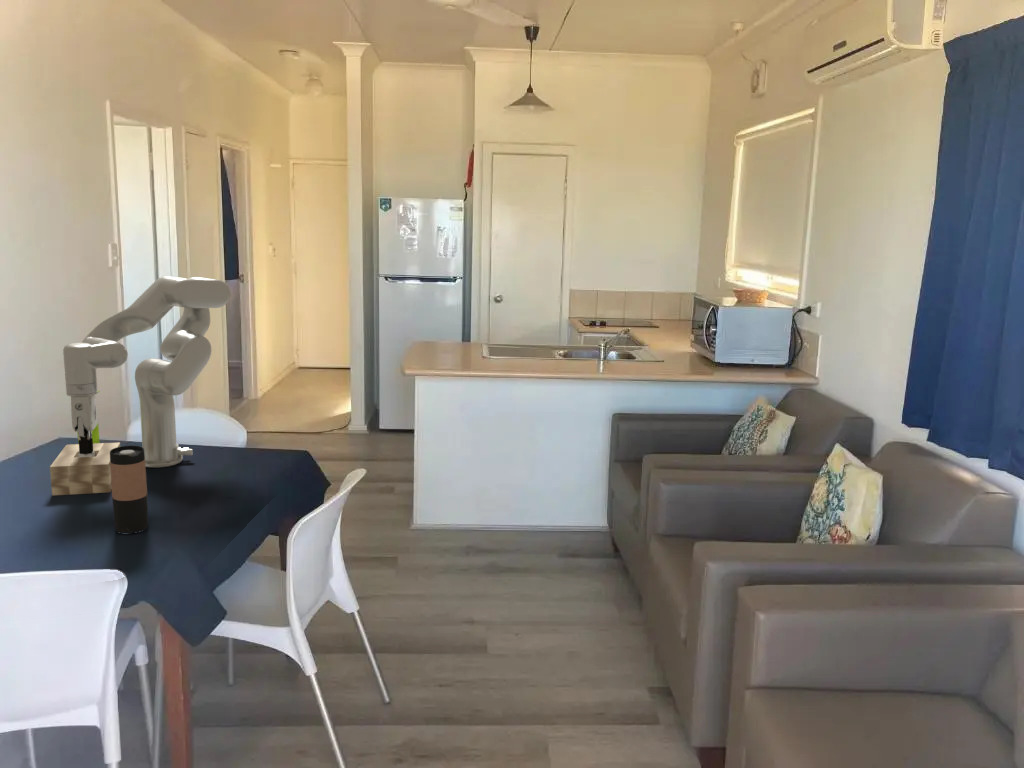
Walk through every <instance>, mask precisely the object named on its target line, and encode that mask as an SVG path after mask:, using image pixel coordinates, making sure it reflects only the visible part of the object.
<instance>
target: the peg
mask: <svg viewBox="0 0 1024 768" xmlns="http://www.w3.org/2000/svg"><path fill="white" fill-rule="evenodd" d="M78 456H79V457H95V452H94V451H93V452H92V453H89V454H80V453H78Z"/></svg>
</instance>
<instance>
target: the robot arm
mask: <svg viewBox="0 0 1024 768" xmlns="http://www.w3.org/2000/svg"><path fill="white" fill-rule="evenodd" d="M231 296H232V292H231V288H230V287H229V285H228V284H227V282H225V281H223V280H221V279H215V278H210V277H209V278H208V277H200V276H192V277H188V278H186V277H185V278H184V277H178V276H168V275H163V276H161V277H159V278H157V279H156V280H155V281H154V282H153V283H151V284H150V286H148V288H147V289H146V290H144V292H142V294H140V296H139V297H137V298H136V300H135V301H133V303H131V305H130V306H128V307H127V308H126V309H123V310H121V311H119V312H117V313H116V314H113V315H112V316H110V317H108V318H107V319H105V320H103V321H101V322H100V323H98V324H97V325H96V326H95V327H94V328H93V329H91V331H90V332H89V333H88V334H87V335H86V336H85V337H84V338H83V340H82V341H81V342H72V343H68V344H66V345H64V346H63V351H62V353H63V354H62V355H63V365H64V366H63V367H64V379H65V393H66V396H68V397H70V408H71V409H70V412H71V425H72V430H73V432H75V433H77V430H78V434H77V439H78V438H79V453H80V454H89V453H92V452H93V439H92V431H93V430H94V428H95V427H96V426H97V424H98V425H99V413H97V411H98V407H97V398H96V395H97V394H98V392H97V391H98V381H97V369H115V368H119V367H121V366H122V365H123V364H125V362H126V361H127V360H128V355H129V353H128V349H127V348H126V347H125V346H124V344H122V343H120V342H119V341H120V340H122V339H124V338H126V337H128V336H131V335H134V334H139V333H142V332H146V331H149V330H151V329H153V328H155V327H156V325H158V323H159V322H160V321H161V320H162V319H163V318H164V317H165V316H166V315H167V314H168V313H169V312H170V311H171V310H172V308H173V307H179V308H183V312H182V315H181V316H180V318H179V319H178V321H177V322H175V325H173V327H172V329H170V331H169V332H168V333H167V335H166V336H165V338H163V340H162V342H161V344H160V353H161V355H162V357H164V358H165V359H167V360H165V359H160V358H151V357H150V358H147V359H143V360H142V361H141V362H139V363H138V365H137V366H136V369H135V371H134V380H135V386H136V388H137V389H136V390H137V393H138V398H139V407H140V408H139V409H140V411H139V412H140V413H139V414H140V428H141V430H140V431H141V441H142V443H141V444H142V445H141V447H143V448H144V454H145V468H166V467H167V468H168V467H171V466H175V465H177V464H180V463H182V461H183V460H184V459H183V458H184V457H183V456H193V453H194V452H193V449H192V448H189V447H183V448H181V446H179V443H177V425H176V405H175V399H174V396H175V397H176V396H180V395H183V394H184V393H185V392H186V391H187V390H189V388H190V387H191V386H192V384H194V382H195V380H196V379H197V378H198V377H199V376H200V374H201V373H202V371H203V370H204V368H205V367H206V365H207V364H208V362H209V361H210V359H211V355H212V346H211V342H210V341H209V339H207V338H206V337H205V335H206V334H207V332H208V330H209V328H210V326H211V325H210V324H211V312H210V309H218V308H223V307H224V306H226V305H228V303H229V301H230V300H231Z"/></svg>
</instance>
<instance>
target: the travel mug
mask: <svg viewBox="0 0 1024 768" xmlns="http://www.w3.org/2000/svg"><path fill="white" fill-rule="evenodd" d="M110 467H111V484H112V489H111V497H112V499H111V500H112V509H113V518H114V526H115V527H114V528H115V531H117V532H120V533H135V532H139V531H142V530H144V531H146V530H147V529H148V528H147V527H149V519H148V518H149V517H148V515H149V513H148V512H149V511H148V487H147V484H148V483H147V471H146V470H147V469H146V467H145V454H144V448H143V447H142V446H140V445H122V446H120V447H117V448H114V449H112V450H111V451H110ZM146 528H147V529H146ZM145 529H146V530H145ZM117 532H116V533H117ZM142 532H143V531H142ZM120 533H119V534H120Z"/></svg>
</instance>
